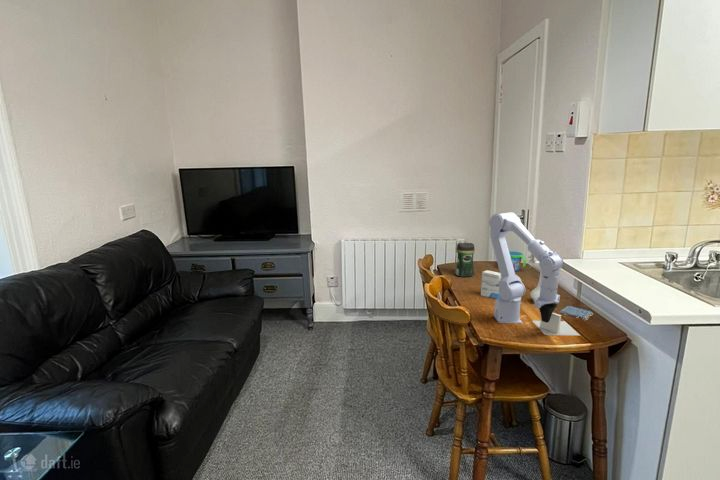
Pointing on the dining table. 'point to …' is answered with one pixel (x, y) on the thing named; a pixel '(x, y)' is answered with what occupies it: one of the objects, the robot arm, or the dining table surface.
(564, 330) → the felt pad
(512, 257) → the snack cup
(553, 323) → the tile
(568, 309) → the woven mat
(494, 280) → the ink box
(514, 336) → the dining table surface
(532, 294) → the flower vase
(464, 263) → the coffee jar
